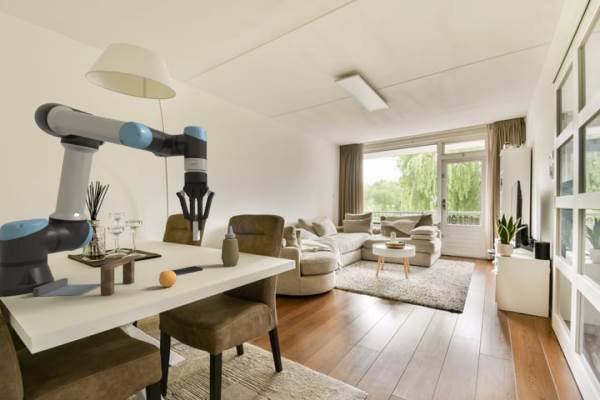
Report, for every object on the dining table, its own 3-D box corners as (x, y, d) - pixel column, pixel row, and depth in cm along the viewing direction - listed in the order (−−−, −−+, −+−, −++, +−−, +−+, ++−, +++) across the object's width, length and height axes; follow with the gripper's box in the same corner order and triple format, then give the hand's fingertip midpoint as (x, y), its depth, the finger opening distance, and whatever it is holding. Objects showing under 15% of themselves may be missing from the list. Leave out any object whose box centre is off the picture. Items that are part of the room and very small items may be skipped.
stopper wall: (33, 296, 86) (33, 288, 86) (62, 285, 98) (62, 278, 98) (38, 296, 86) (38, 288, 86) (67, 285, 98) (67, 278, 98)
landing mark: (40, 296, 86) (40, 295, 86) (68, 285, 98) (68, 284, 98) (81, 295, 87) (81, 294, 87) (104, 284, 99) (104, 283, 99)
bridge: (100, 295, 86) (100, 265, 86) (125, 282, 101) (125, 257, 101) (110, 295, 86) (110, 265, 87) (134, 282, 101) (134, 256, 101)
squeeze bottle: (237, 267, 123) (236, 226, 123) (218, 267, 123) (218, 226, 123) (241, 263, 131) (240, 225, 131) (224, 263, 131) (223, 225, 132)
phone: (204, 268, 119) (168, 275, 107) (204, 271, 119) (168, 278, 107) (194, 265, 124) (159, 272, 113) (194, 268, 124) (159, 275, 113)
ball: (156, 289, 92) (156, 272, 92) (162, 284, 97) (162, 268, 98) (173, 288, 92) (173, 272, 93) (179, 284, 98) (178, 268, 98)
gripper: (172, 170, 92) (173, 242, 92) (212, 170, 93) (213, 241, 93) (180, 173, 99) (180, 239, 99) (217, 173, 101) (218, 238, 100)
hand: (196, 240), depth 96 cm, fingers closed
